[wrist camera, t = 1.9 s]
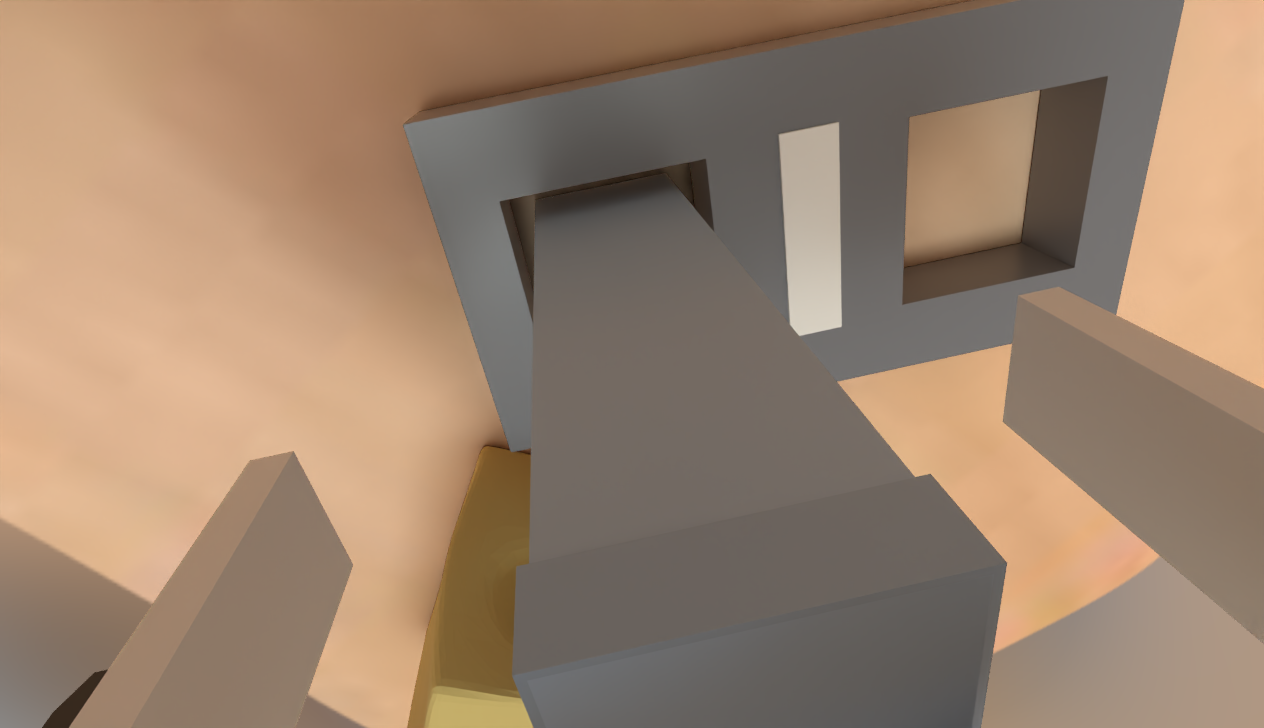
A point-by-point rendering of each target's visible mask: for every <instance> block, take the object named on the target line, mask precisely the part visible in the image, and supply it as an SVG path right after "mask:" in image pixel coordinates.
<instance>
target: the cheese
mask: <svg viewBox="0 0 1264 728" xmlns="http://www.w3.org/2000/svg"><path fill="white" fill-rule="evenodd" d="M530 477H531V455H529V454H524V453H520V452H511V451H510V450H507V449H502V448H496V447H491V446H486V447H483V449H482V450H481V452H480V454H479V457H478V460H477V464H476V467H475V470H474V473H473V476H472V479H471V482H470V485H469V488H468V491H467V494H466V497H465V500H464V503H463V506H462V509H461V512H460V514H459V517H458V520H457V523H456V526H455V529H454V532H453V535H452V539H451V542H450V546H449V549H448V553H447V558H446V562H445V567H444V571H443V577H442V581H441V584H440V588H439V592H438V596H437V599H436V603H435V606H434V609H433V613H432V616H431V619H430V622H429V625H428V628H427V632H426V637H425V642H424V646H423V651H422V656H421V661H420V665H419V670H418V675H417V680H416V685H415V690H414V695H413V700H412V705H411V710H410V716H409V721H408V726H407V728H534V727H533V725H532V723H531V720H530V718H529V715H528V713H527V711H526V708H525V706H524V704H523V701H522V699H521V696H520V694H519V692H518V689H517V687H516V684H515V682H514V680H513V677H512V662H513V637H514V612H515V587H516V566H520V565H525V564H529V536H530Z"/></svg>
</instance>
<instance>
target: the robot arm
mask: <svg viewBox="0 0 1264 728" xmlns="http://www.w3.org/2000/svg"><path fill="white" fill-rule="evenodd" d="M1003 422H1004V423H1005V424H1006V425H1007V426H1008V427H1010V428H1011V429H1012V430H1013V431H1014V432H1015V433H1017V434H1018V435H1019V436H1020V437H1021V438H1022V439H1024V440H1025V441H1026V442H1027V443H1028V444H1030V445H1031V446H1032V447H1033V448H1034V449H1035V450H1037V451H1038V452H1039V453H1040V454H1041V455H1042V456H1044V457H1045V458H1046V459H1047V460H1048V461H1049V462H1051V463H1052V464H1053V465H1054V466H1055V467H1057V468H1058V469H1059V470H1060V471H1061V472H1062V473H1064V474H1065V475H1066V476H1067V477H1068V478H1069V479H1071V480H1072V481H1073V482H1074V483H1075V484H1076V485H1078V486H1079V487H1080V488H1081V489H1082V490H1084V491H1085V492H1086V493H1087V494H1088V495H1089V496H1091V497H1092V498H1093V499H1094V500H1095V501H1096V502H1098V503H1099V504H1100V505H1101V506H1102V507H1103V508H1105V509H1106V510H1107V511H1108V512H1109V513H1111V514H1112V515H1113V516H1114V517H1115V518H1116V519H1118V520H1119V521H1120V522H1121V523H1122V524H1123V525H1125V526H1126V527H1127V528H1128V529H1129V530H1130V531H1132V532H1133V533H1134V534H1135V535H1136V536H1138V537H1139V538H1140V539H1141V540H1142V541H1143V542H1145V543H1146V544H1147V545H1148V546H1149V547H1150V548H1152V549H1153V550H1154V551H1155V552H1156V553H1157V554H1159V555H1160V556H1161V557H1162V558H1163V559H1165V560H1166V561H1167V562H1168V563H1169V564H1170V565H1172V566H1173V567H1174V568H1175V569H1176V570H1177V571H1179V572H1180V573H1181V574H1182V575H1183V576H1184V577H1186V578H1187V579H1188V580H1189V581H1190V582H1191V583H1193V584H1194V585H1195V586H1196V587H1197V588H1199V589H1200V590H1201V591H1202V592H1203V593H1205V594H1206V595H1207V596H1208V597H1209V598H1210V599H1212V600H1213V601H1214V602H1215V603H1216V604H1217V605H1219V606H1220V607H1221V608H1222V609H1223V610H1224V611H1226V612H1227V613H1228V614H1229V615H1230V616H1231V617H1233V618H1234V619H1235V620H1236V621H1237V622H1238V623H1240V624H1241V625H1242V626H1243V627H1244V628H1246V629H1247V630H1248V631H1249V632H1250V633H1251V634H1253V635H1254V636H1255V637H1256V638H1257V639H1258V640H1260V641H1261V642H1262V643H1263V644H1264V389H1263V388H1261V387H1259V386H1257V385H1255V384H1253V383H1251V382H1249V381H1247V380H1245V379H1243V378H1241V377H1239V376H1237V375H1235V374H1233V373H1231V372H1229V371H1227V370H1225V369H1223V368H1221V367H1219V366H1217V365H1215V364H1213V363H1211V362H1209V361H1207V360H1205V359H1203V358H1201V357H1199V356H1197V355H1195V354H1193V353H1191V352H1189V351H1187V350H1185V349H1183V348H1181V347H1179V346H1177V345H1175V344H1173V343H1171V342H1169V341H1167V340H1165V339H1163V338H1161V337H1159V336H1157V335H1155V334H1153V333H1151V332H1149V331H1147V330H1145V329H1143V328H1141V327H1139V326H1137V325H1135V324H1133V323H1131V322H1129V321H1127V320H1125V319H1123V318H1121V317H1119V316H1117V315H1115V314H1113V313H1111V312H1109V311H1107V310H1105V309H1103V308H1101V307H1099V306H1097V305H1095V304H1093V303H1091V302H1089V301H1087V300H1085V299H1083V298H1081V297H1079V296H1077V295H1075V294H1072V293H1070V292H1068V291H1066V290H1064V289H1062V288H1060V287H1056V288H1051V289H1046V290H1042V291H1037V292H1032V293H1028V294H1023V295H1018V301H1017V309H1016V317H1015V325H1014V333H1013V342H1012V350H1011V358H1010V366H1009V375H1008V383H1007V391H1006V399H1005V407H1004V416H1003ZM352 567H353V564H352V562H351V560H350V558H349V556H348V554H347V552H346V550H345V548H344V546H343V545H342V543H341V541H340V539H339V537H338V535H337V533H336V531H335V529H334V527H333V526H332V524H331V522H330V520H329V518H328V516H327V514H326V512H325V510H324V508H323V506H322V505H321V503H320V501H319V499H318V497H317V495H316V493H315V491H314V489H313V487H312V486H311V484H310V482H309V480H308V478H307V476H306V474H305V472H304V470H303V468H302V466H301V465H300V463H299V461H298V459H297V457H296V455H295V453H294V451H292V452H288V453H283V454H278V455H274V456H269V457H264V458H260V459H255V460H250V461H249V463H248V464H247V465H246V467H245V468H244V470H243V471H242V473H241V474H240V476H239V477H238V479H237V480H236V482H235V483H234V485H233V486H232V488H231V489H230V491H229V492H228V494H227V495H226V496H225V498H224V499H223V501H222V502H221V504H220V505H219V507H218V508H217V510H216V511H215V513H214V514H213V516H212V517H211V519H210V520H209V522H208V523H207V525H206V526H205V527H204V529H203V530H202V532H201V533H200V535H199V536H198V538H197V539H196V541H195V542H194V544H193V545H192V547H191V548H190V550H189V551H188V553H187V554H186V556H185V557H184V558H183V560H182V561H181V563H180V564H179V566H178V567H177V569H176V570H175V572H174V573H173V575H172V576H171V578H170V579H169V581H168V582H167V584H166V585H165V587H164V588H163V590H162V591H161V592H160V594H159V595H158V597H157V598H156V600H155V601H154V603H153V604H152V606H151V607H150V609H149V610H148V612H147V613H146V615H145V616H144V618H143V619H142V621H141V622H140V624H139V625H138V626H137V628H136V629H135V631H134V632H133V634H132V635H131V637H130V638H129V640H128V641H127V643H126V644H125V646H124V647H123V649H122V650H121V652H120V653H119V655H118V656H117V657H116V659H115V660H114V662H113V663H112V665H111V666H110V668H109V669H108V670H104V671H100V672H95V673H94V674H93V675H92V676H91V677H89V678H88V679H87V680H86V681H85V682H84V683H83V684H82V685H81V686H80V687H79V688H78V689H77V690H76V691H75V692H74V693H73V694H72V695H71V696H70V697H69V698H68V699H66V701H64V702H63V703H62V704H61V705H60V706H59V707H58V708H57V709H56V710H55V711H54V712H53V713H52V715H51V716H50V718H49V719H48V720H47V722H46V723H45V724H44V726H43V727H42V728H296V725H297V723H298V720H299V717H300V714H301V711H302V708H303V705H304V703H305V700H306V697H307V694H308V691H309V689H310V686H311V683H312V680H313V677H314V674H315V671H316V669H317V666H318V663H319V660H320V657H321V654H322V652H323V649H324V646H325V643H326V640H327V637H328V635H329V632H330V629H331V626H332V623H333V620H334V618H335V615H336V612H337V609H338V606H339V603H340V601H341V598H342V595H343V592H344V589H345V586H346V584H347V581H348V578H349V575H350V572H351V569H352Z"/></svg>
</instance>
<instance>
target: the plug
mask: <svg viewBox="0 0 1264 728" xmlns="http://www.w3.org/2000/svg"><path fill="white" fill-rule="evenodd" d="M1006 566H1007V562H1006V561H1005V560H1004V559H1003V558H1002V556H1001V555H1000V554H999V553H998V552H997V551H996V549H995V548H994V547H993V546H992V545H991V544H990V542H989V541H988V540H987V539H986V538H985V537H984V536H983V534H982V533H981V532H980V531H979V530H978V529H977V527H976V526H975V525H974V524H973V523H972V522H971V520H970V519H969V518H968V517H967V516H966V515H965V513H964V512H963V511H962V510H961V509H960V508H959V506H958V505H957V504H956V503H955V502H954V501H953V499H952V498H951V497H950V496H949V495H948V494H947V492H946V491H945V490H944V489H943V488H942V487H941V485H940V484H939V483H938V482H937V481H936V480H935V478H934V477H933V476H932V475H931V474H928V475H923V476H919V477H914V475H913V474H912V473H911V472H910V470H909V469H908V468H907V467H906V466H905V464H904V463H903V462H902V461H901V459H900V458H899V457H898V456H897V455H896V453H895V452H894V451H893V450H892V449H891V447H890V446H889V445H888V444H887V442H886V441H885V440H884V439H883V438H882V436H881V435H880V434H879V433H878V431H877V430H876V429H875V428H874V427H873V425H872V424H871V423H870V422H869V420H868V419H867V418H866V417H865V416H864V414H863V413H862V412H861V411H860V409H859V408H858V407H857V406H856V405H855V403H854V402H853V401H852V400H851V398H850V397H849V396H848V395H847V394H846V392H845V391H844V390H843V389H842V388H841V386H840V385H839V384H838V383H837V381H836V380H835V379H834V378H833V377H832V375H831V374H830V373H829V372H828V370H827V369H826V368H825V367H824V366H823V364H822V363H821V362H820V361H819V359H818V358H817V357H816V356H815V355H814V353H813V352H812V351H811V350H810V348H809V347H808V346H807V345H806V344H805V342H804V341H803V340H802V339H801V337H800V336H799V335H798V334H797V333H796V331H795V330H794V329H793V328H792V326H791V325H790V324H789V323H788V322H787V320H786V319H785V318H784V317H783V316H782V314H781V313H780V312H779V311H778V309H777V308H776V307H775V306H774V305H773V303H772V302H771V301H770V300H769V298H768V297H767V296H766V295H765V294H764V292H763V291H762V290H761V289H760V287H759V286H758V285H757V284H756V283H755V281H754V280H753V279H752V278H751V276H750V275H749V274H748V273H747V272H746V270H745V269H744V268H743V267H742V265H741V264H740V263H739V262H738V261H737V259H736V258H735V257H734V256H733V255H732V253H731V252H730V251H729V250H728V248H727V247H726V246H725V245H724V244H723V242H722V241H721V240H720V239H719V237H718V236H717V235H716V234H715V233H714V231H713V230H712V229H711V228H710V226H709V225H708V224H707V223H706V222H705V220H704V219H703V218H702V217H701V215H700V214H699V213H698V212H697V211H696V209H695V208H694V207H693V206H692V204H691V203H690V202H689V201H688V200H687V198H686V197H685V196H684V195H683V193H682V192H681V191H680V190H679V189H678V187H677V186H676V185H675V184H674V183H673V181H672V180H671V179H670V178H669V176H668V175H667V174H666V173H663V174H658V175H653V176H649V177H644V178H639V179H634V180H629V181H624V182H619V183H615V184H610V185H605V186H600V187H595V188H590V189H586V190H581V191H576V192H571V193H566V194H561V195H557V196H552V197H547V198H542V199H537V200H535V240H534V300H533V359H532V418H531V477H530V536H529V564H525V565H520V566H516V587H515V612H514V637H513V662H512V677H513V680H514V682H515V684H516V687H517V689H518V692H519V694H520V696H521V699H522V701H523V704H524V706H525V708H526V711H527V713H528V715H529V718H530V720H531V723H532V725H533V727H534V728H981V724H982V717H983V711H984V705H985V698H986V692H987V686H988V680H989V673H990V667H991V661H992V654H993V648H994V642H995V636H996V629H997V623H998V617H999V610H1000V604H1001V598H1002V592H1003V585H1004V579H1005V573H1006Z"/></svg>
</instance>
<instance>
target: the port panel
mask: <svg viewBox="0 0 1264 728" xmlns="http://www.w3.org/2000/svg"><path fill="white" fill-rule="evenodd" d="M1183 5H1184V0H971V1H966V2H961V3H956V4H951V5H946V6H941V7H936V8H931V9H926V10H921V11H916V12H911V13H906V14H901V15H896V16H891V17H886V18H881V19H876V20H871V21H866V22H862V23H857V24H852V25H847V26H842V27H837V28H832V29H827V30H822V31H817V32H812V33H807V34H802V35H797V36H792V37H787V38H782V39H777V40H772V41H767V42H762V43H757V44H752V45H747V46H742V47H737V48H732V49H727V50H722V51H718V52H713V53H708V54H703V55H698V56H693V57H688V58H683V59H678V60H673V61H668V62H663V63H658V64H653V65H648V66H643V67H638V68H633V69H628V70H623V71H618V72H613V73H608V74H603V75H598V76H593V77H588V78H583V79H578V80H574V81H569V82H564V83H559V84H554V85H549V86H544V87H539V88H534V89H529V90H524V91H519V92H514V93H509V94H504V95H499V96H494V97H489V98H484V99H479V100H474V101H469V102H464V103H459V104H454V105H449V106H444V107H439V108H434V109H430V110H425V111H420V112H418V113H417V114H416V115H414V116H413V117H412V118H411V119H409V120H408V121H407V122H406V123H404V124H403V127H404V130H405V133H406V136H407V139H408V142H409V145H410V148H411V151H412V154H413V157H414V160H415V163H416V166H417V169H418V172H419V175H420V178H421V181H422V184H423V187H424V190H425V193H426V196H427V200H428V203H429V206H430V209H431V212H432V215H433V218H434V221H435V224H436V227H437V230H438V233H439V236H440V239H441V242H442V245H443V248H444V251H445V254H446V257H447V260H448V263H449V266H450V269H451V272H452V275H453V278H454V281H455V284H456V287H457V290H458V293H459V296H460V299H461V303H462V306H463V309H464V312H465V315H466V318H467V321H468V324H469V327H470V330H471V333H472V336H473V339H474V342H475V345H476V348H477V351H478V354H479V357H480V360H481V363H482V366H483V369H484V372H485V375H486V378H487V381H488V384H489V387H490V390H491V393H492V396H493V399H494V402H495V406H496V409H497V412H498V415H499V418H500V421H501V424H502V427H503V430H504V433H505V436H506V439H507V442H508V445H509V448H510V451H511V452H516V451H520V450H525V449H530V448H531V418H532V359H533V300H534V291H533V287H532V284H531V280H530V276H529V272H528V269H527V265H526V261H525V257H524V254H523V250H522V246H521V242H520V239H519V235H518V231H517V228H516V224H515V220H514V216H513V213H512V209H511V205H510V201H509V199H513V198H518V197H523V196H528V195H533V194H538V193H543V192H547V191H552V190H557V189H562V188H567V187H572V186H576V185H581V184H586V183H591V182H596V181H601V180H606V179H610V178H615V177H620V176H625V175H630V174H635V173H640V172H644V171H649V170H654V169H659V168H664V167H669V166H673V165H678V164H683V163H688V162H689V163H690V171H691V179H692V187H693V195H694V203H695V209H696V211H697V212H698V213H699V214H700V215H701V217H702V218H703V219H704V220H705V222H706V223H707V224H708V225H709V226H710V228H711V229H712V230H713V231H714V233H715V234H716V235H717V236H718V237H719V239H720V240H721V241H722V242H723V244H724V245H725V246H726V247H727V248H728V250H729V251H730V252H731V253H732V255H733V256H734V257H735V258H736V259H737V261H738V262H739V263H740V264H741V265H742V267H743V268H744V269H745V270H746V272H747V273H748V274H749V275H750V276H751V278H752V279H753V280H754V281H755V283H756V284H757V285H758V286H759V287H760V289H761V290H762V291H763V292H764V294H765V295H766V296H767V297H768V298H769V300H770V301H771V302H772V303H773V305H774V306H775V307H776V308H777V309H778V311H779V312H780V313H781V314H782V316H783V317H784V318H785V319H786V320H787V322H788V323H789V324H790V325H791V326H792V328H793V329H794V330H795V331H796V333H797V334H798V335H799V336H800V337H801V339H802V340H803V341H804V342H805V344H806V345H807V346H808V347H809V348H810V350H811V351H812V352H813V353H814V355H815V356H816V357H817V358H818V359H819V361H820V362H821V363H822V364H823V366H824V367H825V368H826V369H827V370H828V372H829V373H830V374H831V375H832V377H833V378H834V379H835V380H836V381H842V380H846V379H851V378H855V377H860V376H865V375H869V374H874V373H878V372H883V371H888V370H892V369H897V368H901V367H906V366H910V365H915V364H920V363H924V362H929V361H933V360H938V359H943V358H947V357H952V356H956V355H961V354H966V353H970V352H975V351H979V350H984V349H989V348H993V347H998V346H1002V345H1007V344H1011V343H1012V342H1013V333H1014V325H1015V317H1016V309H1017V301H1018V295H1023V294H1028V293H1032V292H1037V291H1042V290H1046V289H1051V288H1056V287H1060V288H1062V289H1064V290H1066V291H1068V292H1070V293H1072V294H1075V295H1077V296H1079V297H1081V298H1083V299H1085V300H1087V301H1089V302H1091V303H1093V304H1095V305H1097V306H1099V307H1101V308H1103V309H1105V310H1107V311H1109V312H1111V313H1113V314H1115V315H1116V313H1117V308H1118V304H1119V299H1120V294H1121V290H1122V285H1123V281H1124V276H1125V271H1126V267H1127V262H1128V258H1129V253H1130V248H1131V244H1132V239H1133V235H1134V230H1135V225H1136V221H1137V216H1138V212H1139V207H1140V202H1141V198H1142V193H1143V189H1144V184H1145V179H1146V175H1147V170H1148V166H1149V161H1150V156H1151V152H1152V147H1153V143H1154V138H1155V134H1156V129H1157V124H1158V120H1159V115H1160V111H1161V106H1162V101H1163V97H1164V92H1165V88H1166V83H1167V78H1168V74H1169V69H1170V65H1171V60H1172V55H1173V51H1174V46H1175V42H1176V37H1177V32H1178V28H1179V23H1180V19H1181V14H1182V9H1183ZM1037 90H1041V96H1040V104H1039V111H1038V119H1037V127H1036V134H1035V142H1034V150H1033V157H1032V165H1031V173H1030V180H1029V188H1028V196H1027V204H1026V211H1025V219H1024V227H1023V234H1022V242H1021V243H1019V244H1014V245H1010V246H1005V247H1000V248H996V249H991V250H986V251H981V252H977V253H972V254H967V255H963V256H958V257H953V258H949V259H944V260H939V261H935V262H930V263H925V264H920V265H916V266H911V267H906V268H903V267H904V240H905V213H906V186H907V160H908V133H909V117H911V116H916V115H921V114H926V113H930V112H935V111H940V110H945V109H950V108H955V107H960V106H964V105H969V104H974V103H979V102H984V101H989V100H993V99H998V98H1003V97H1008V96H1013V95H1018V94H1023V93H1027V92H1032V91H1037Z"/></svg>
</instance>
